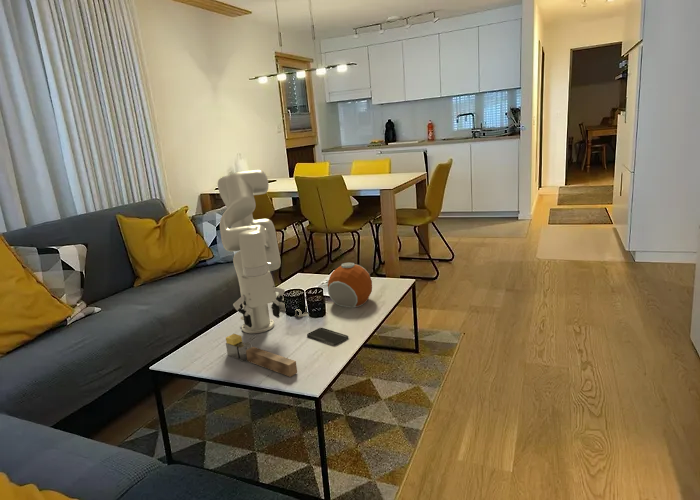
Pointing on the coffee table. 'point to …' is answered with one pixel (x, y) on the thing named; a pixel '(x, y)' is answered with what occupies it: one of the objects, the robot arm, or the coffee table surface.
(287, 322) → the coffee table surface
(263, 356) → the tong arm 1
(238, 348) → the tong hinge
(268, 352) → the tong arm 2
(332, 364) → the coffee table surface
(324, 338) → the phone
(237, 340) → the tab
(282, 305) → the pale grey knobby bar
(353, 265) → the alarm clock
